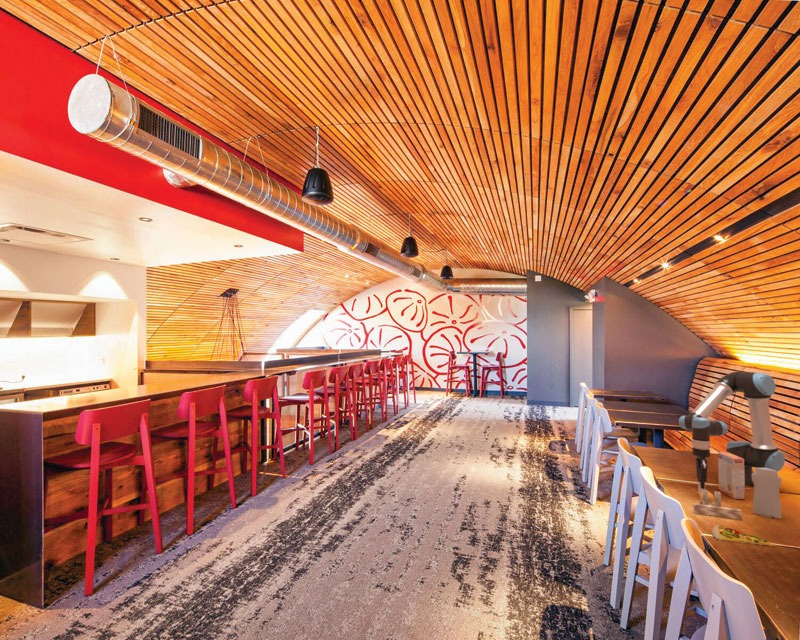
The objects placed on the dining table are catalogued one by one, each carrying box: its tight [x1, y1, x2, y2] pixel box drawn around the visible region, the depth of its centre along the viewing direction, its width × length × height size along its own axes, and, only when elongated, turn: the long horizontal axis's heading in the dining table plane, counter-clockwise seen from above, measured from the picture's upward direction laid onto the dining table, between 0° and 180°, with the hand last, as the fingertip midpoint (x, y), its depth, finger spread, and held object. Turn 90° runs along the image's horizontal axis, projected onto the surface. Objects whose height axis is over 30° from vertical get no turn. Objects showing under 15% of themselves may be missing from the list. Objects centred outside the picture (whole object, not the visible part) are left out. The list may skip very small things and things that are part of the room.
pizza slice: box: [711, 524, 777, 547], centre depth 175 cm, size 16×21×3 cm
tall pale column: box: [752, 467, 782, 520], centre depth 200 cm, size 11×4×22 cm, turn 54°
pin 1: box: [701, 489, 709, 505], centre depth 208 cm, size 2×2×8 cm
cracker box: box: [717, 451, 746, 501], centre depth 228 cm, size 14×6×21 cm, turn 168°
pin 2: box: [713, 490, 722, 507], centre depth 206 cm, size 2×2×8 cm
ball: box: [699, 491, 715, 505], centre depth 214 cm, size 6×6×6 cm
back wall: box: [693, 503, 743, 521], centre depth 199 cm, size 18×2×4 cm, turn 68°
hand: (702, 494), depth 222 cm, fingers closed
